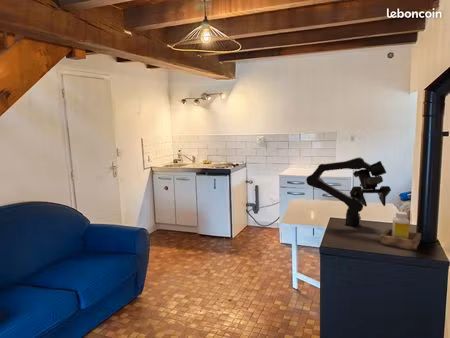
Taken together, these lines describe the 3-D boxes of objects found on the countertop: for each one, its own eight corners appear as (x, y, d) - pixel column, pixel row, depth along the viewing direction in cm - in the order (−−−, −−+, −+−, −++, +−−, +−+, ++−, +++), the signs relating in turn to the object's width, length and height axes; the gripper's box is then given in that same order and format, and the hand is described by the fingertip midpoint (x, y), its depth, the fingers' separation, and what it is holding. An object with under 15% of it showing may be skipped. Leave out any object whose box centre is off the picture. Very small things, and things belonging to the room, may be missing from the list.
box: (380, 243, 155) (380, 235, 155) (387, 236, 166) (387, 228, 166) (415, 250, 147) (416, 241, 146) (420, 241, 158) (421, 233, 158)
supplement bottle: (411, 243, 153) (413, 214, 152) (395, 243, 153) (397, 214, 152) (403, 238, 160) (405, 211, 158) (389, 238, 160) (390, 210, 158)
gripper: (353, 170, 172) (362, 196, 162) (390, 169, 173) (401, 196, 163) (346, 183, 180) (354, 209, 171) (381, 183, 182) (391, 209, 172)
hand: (375, 205), depth 169 cm, fingers open, 9 cm apart
